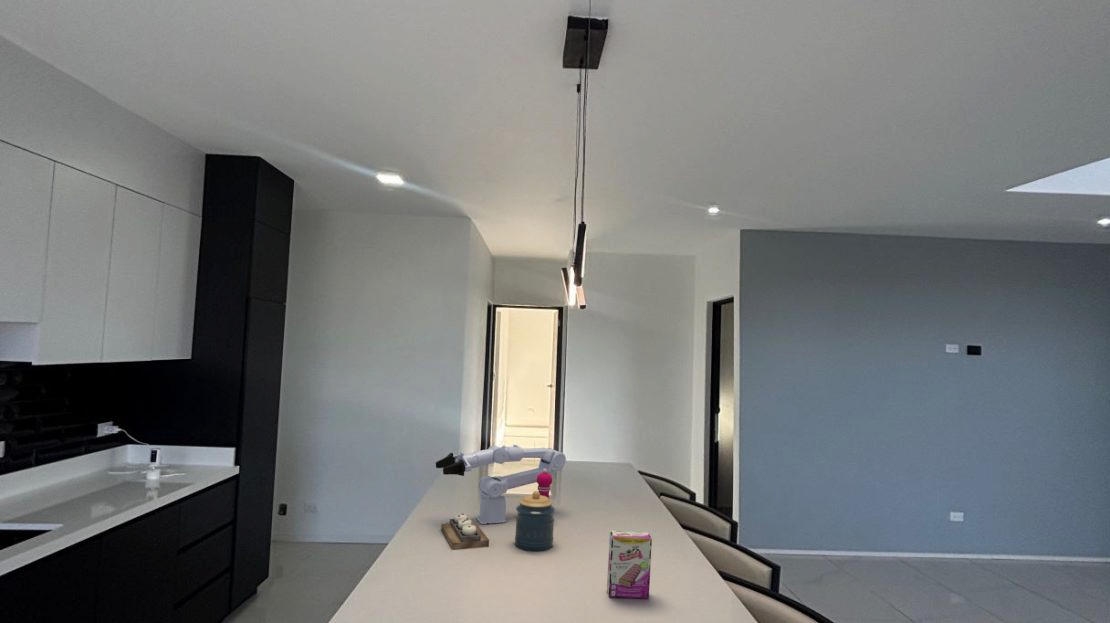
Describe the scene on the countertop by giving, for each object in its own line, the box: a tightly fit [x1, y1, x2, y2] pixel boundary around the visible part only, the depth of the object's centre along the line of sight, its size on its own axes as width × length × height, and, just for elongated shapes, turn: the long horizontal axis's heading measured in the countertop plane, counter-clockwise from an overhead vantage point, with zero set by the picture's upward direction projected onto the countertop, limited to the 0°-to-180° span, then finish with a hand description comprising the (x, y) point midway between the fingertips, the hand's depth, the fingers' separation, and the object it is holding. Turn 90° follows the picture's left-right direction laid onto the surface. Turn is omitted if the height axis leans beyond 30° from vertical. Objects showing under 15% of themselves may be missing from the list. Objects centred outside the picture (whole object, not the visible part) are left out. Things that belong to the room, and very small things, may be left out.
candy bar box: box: [606, 530, 653, 600], centre depth 156 cm, size 11×5×16 cm, turn 92°
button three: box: [458, 518, 472, 529], centre depth 195 cm, size 4×4×2 cm
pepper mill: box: [536, 469, 553, 507], centre depth 216 cm, size 7×7×20 cm
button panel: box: [440, 517, 490, 550], centre depth 195 cm, size 12×20×4 cm, turn 22°
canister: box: [514, 490, 556, 552], centre depth 192 cm, size 13×13×18 cm
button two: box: [453, 512, 468, 523], centre depth 201 cm, size 4×4×2 cm
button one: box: [462, 525, 476, 535], centre depth 189 cm, size 4×4×2 cm
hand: (439, 468), depth 205 cm, fingers open, 7 cm apart
